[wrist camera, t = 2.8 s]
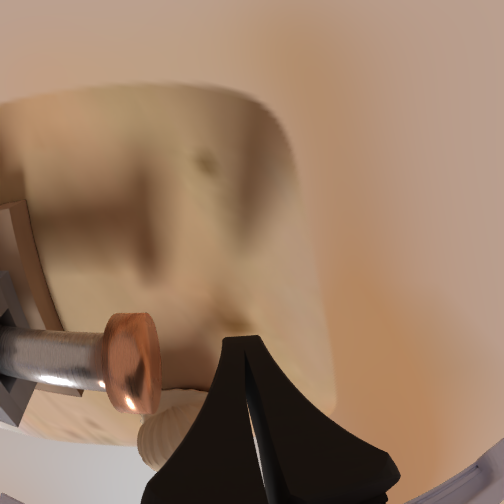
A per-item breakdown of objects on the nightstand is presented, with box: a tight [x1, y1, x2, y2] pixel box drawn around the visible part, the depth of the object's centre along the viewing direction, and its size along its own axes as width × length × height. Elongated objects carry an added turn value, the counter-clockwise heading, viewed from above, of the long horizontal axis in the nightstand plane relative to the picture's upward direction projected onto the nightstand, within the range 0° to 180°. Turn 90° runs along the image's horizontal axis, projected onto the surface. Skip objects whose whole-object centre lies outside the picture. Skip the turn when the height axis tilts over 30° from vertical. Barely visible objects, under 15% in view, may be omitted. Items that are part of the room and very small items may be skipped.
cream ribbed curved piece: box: [137, 388, 208, 472], centre depth 14 cm, size 4×8×5 cm, turn 123°
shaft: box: [0, 313, 162, 415], centre depth 9 cm, size 11×4×4 cm, turn 89°
